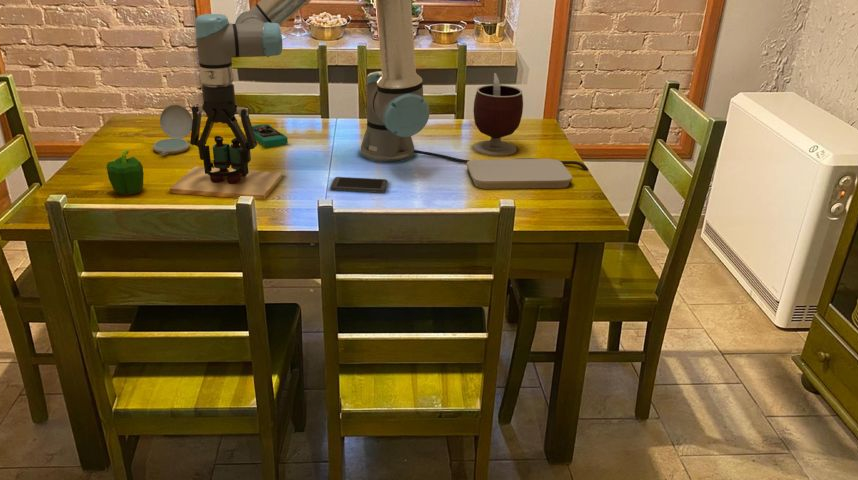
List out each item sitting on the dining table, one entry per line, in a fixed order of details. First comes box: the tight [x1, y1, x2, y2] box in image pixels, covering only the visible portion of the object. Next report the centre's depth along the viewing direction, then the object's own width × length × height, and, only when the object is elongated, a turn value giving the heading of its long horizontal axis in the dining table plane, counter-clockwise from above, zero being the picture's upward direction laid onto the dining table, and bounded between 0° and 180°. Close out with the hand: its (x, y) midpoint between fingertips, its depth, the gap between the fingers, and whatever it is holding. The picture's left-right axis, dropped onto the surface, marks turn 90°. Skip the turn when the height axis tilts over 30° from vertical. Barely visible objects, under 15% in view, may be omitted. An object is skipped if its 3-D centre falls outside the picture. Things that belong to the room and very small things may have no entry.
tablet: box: [466, 158, 573, 190], centre depth 194 cm, size 16×26×2 cm, turn 94°
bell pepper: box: [106, 149, 145, 195], centre depth 179 cm, size 8×8×10 cm
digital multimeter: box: [252, 123, 289, 149], centre depth 217 cm, size 7×15×3 cm, turn 31°
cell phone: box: [330, 176, 389, 193], centre depth 187 cm, size 7×14×1 cm, turn 85°
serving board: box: [169, 165, 284, 201], centre depth 186 cm, size 24×16×1 cm, turn 82°
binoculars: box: [205, 135, 243, 184], centre depth 184 cm, size 9×11×10 cm
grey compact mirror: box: [152, 104, 193, 156], centre depth 207 cm, size 10×11×15 cm
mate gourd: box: [473, 72, 524, 157], centre depth 211 cm, size 16×14×20 cm
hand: (226, 173), depth 185 cm, fingers closed on binoculars, 9 cm apart
